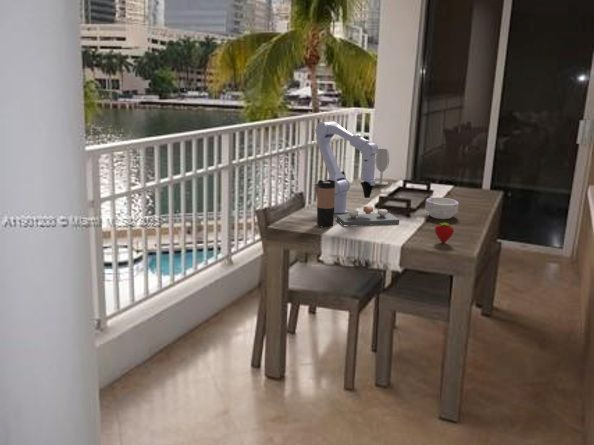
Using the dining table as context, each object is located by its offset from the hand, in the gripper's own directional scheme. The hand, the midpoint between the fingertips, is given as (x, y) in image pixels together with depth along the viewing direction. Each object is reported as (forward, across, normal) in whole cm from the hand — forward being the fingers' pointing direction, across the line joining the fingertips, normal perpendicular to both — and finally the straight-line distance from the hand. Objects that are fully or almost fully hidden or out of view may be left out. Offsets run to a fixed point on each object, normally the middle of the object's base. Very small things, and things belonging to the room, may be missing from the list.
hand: (366, 197), depth 273 cm
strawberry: (+10, -44, -18) cm, 48 cm away
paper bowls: (+10, -5, -36) cm, 38 cm away
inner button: (+7, -8, +9) cm, 14 cm away
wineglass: (+10, +71, -34) cm, 79 cm away
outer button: (+7, -8, -5) cm, 12 cm away
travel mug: (+10, -11, +23) cm, 27 cm away
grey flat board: (+9, -8, +2) cm, 13 cm away
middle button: (+5, -8, +2) cm, 10 cm away
